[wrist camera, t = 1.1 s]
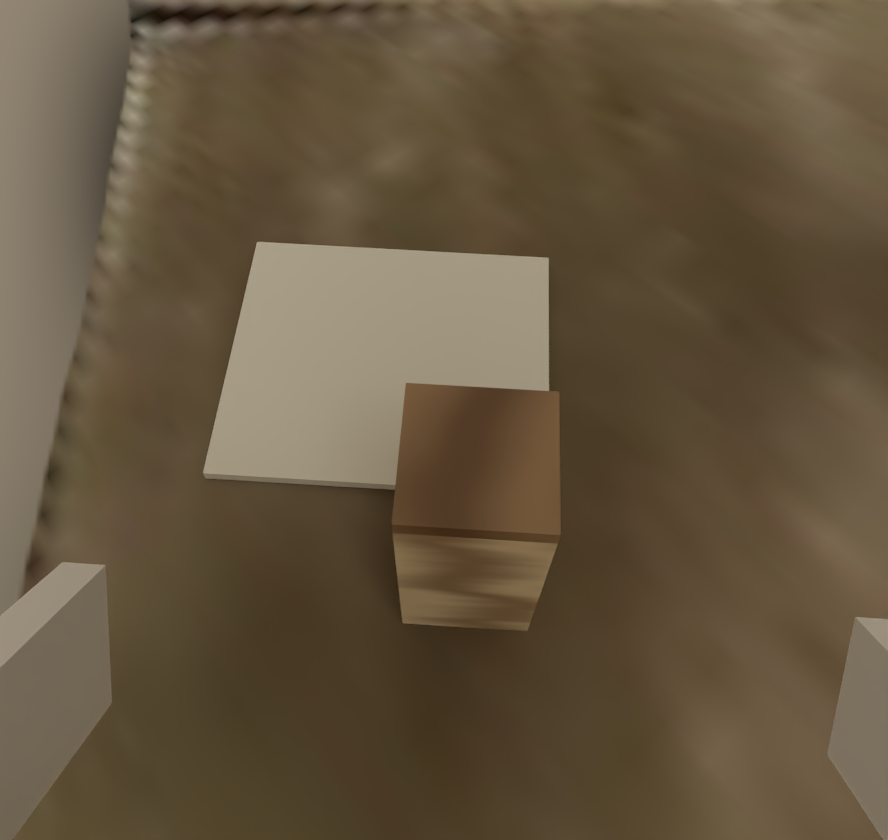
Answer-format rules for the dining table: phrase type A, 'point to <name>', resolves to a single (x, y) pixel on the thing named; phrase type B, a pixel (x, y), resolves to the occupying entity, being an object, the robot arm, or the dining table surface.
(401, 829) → the dining table surface
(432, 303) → the felt mat
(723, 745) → the dining table surface
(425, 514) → the oak block
